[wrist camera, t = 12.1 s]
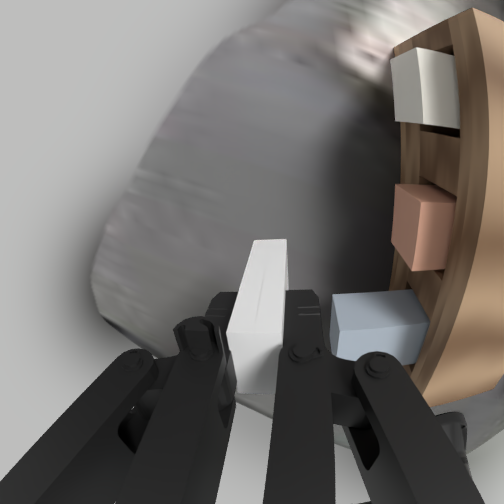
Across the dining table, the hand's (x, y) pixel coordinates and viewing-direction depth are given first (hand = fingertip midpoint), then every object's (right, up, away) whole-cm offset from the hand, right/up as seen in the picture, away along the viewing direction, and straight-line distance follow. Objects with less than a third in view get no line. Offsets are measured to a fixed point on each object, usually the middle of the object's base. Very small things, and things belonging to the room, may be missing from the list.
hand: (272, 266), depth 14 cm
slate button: (+9, -4, +7) cm, 12 cm away
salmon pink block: (+13, +3, +3) cm, 13 cm away
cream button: (+12, +11, -1) cm, 16 cm away
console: (+15, +5, +6) cm, 17 cm away
